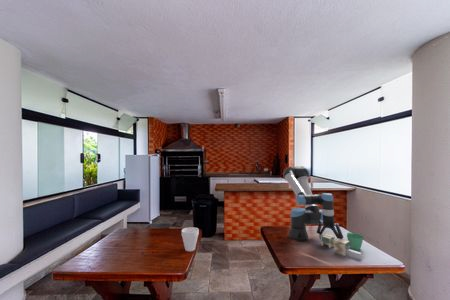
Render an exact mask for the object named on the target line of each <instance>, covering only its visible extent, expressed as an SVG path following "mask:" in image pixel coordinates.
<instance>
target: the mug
mask: <svg viewBox="0 0 450 300" xmlns="http://www.w3.org/2000/svg"><path fill="white" fill-rule="evenodd" d="M346 238H347V241H349V242H350V249H351V250H354V251H360V250H361V248H362V244H363V240H364V236H363V235H361V234H358V233H352V232H349V231H348V232H347V234H346Z"/></svg>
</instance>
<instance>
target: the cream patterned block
mask: <svg viewBox="0 0 450 300" xmlns="http://www.w3.org/2000/svg"><path fill="white" fill-rule="evenodd" d="M335 236H336V235H335ZM335 236H334V235H331V234H327V233H325V234H323V235H322V236H321V239H320V244H321V246H322V247H323V246H325V245H328V249H332V248H334V240H336V237H335Z"/></svg>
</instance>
